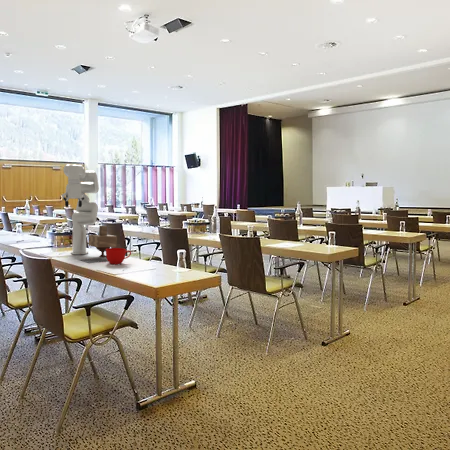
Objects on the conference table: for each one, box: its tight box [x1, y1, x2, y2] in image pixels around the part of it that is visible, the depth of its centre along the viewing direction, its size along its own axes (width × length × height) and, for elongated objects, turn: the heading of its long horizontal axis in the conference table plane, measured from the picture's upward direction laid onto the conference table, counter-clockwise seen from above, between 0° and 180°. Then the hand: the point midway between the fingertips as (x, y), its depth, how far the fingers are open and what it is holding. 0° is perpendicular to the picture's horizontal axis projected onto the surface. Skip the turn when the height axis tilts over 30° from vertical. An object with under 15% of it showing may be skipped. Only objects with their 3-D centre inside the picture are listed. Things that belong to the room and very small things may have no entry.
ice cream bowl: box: [95, 247, 111, 258], centre depth 340 cm, size 11×11×15 cm
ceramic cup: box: [105, 247, 132, 265], centre depth 312 cm, size 13×17×10 cm
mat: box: [78, 257, 109, 264], centre depth 321 cm, size 17×17×1 cm
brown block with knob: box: [88, 225, 118, 248], centre depth 339 cm, size 15×15×15 cm
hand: (73, 206), depth 328 cm, fingers open, 9 cm apart
